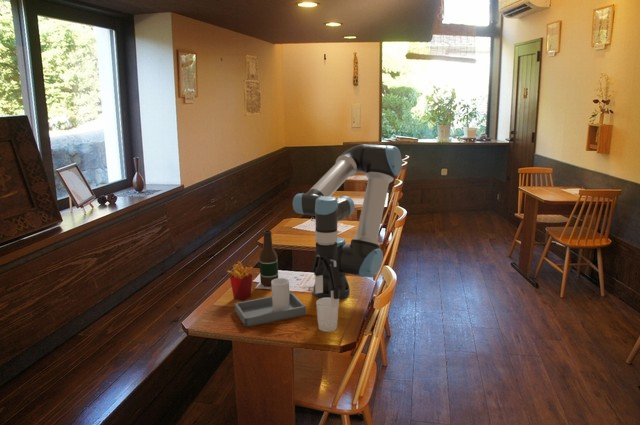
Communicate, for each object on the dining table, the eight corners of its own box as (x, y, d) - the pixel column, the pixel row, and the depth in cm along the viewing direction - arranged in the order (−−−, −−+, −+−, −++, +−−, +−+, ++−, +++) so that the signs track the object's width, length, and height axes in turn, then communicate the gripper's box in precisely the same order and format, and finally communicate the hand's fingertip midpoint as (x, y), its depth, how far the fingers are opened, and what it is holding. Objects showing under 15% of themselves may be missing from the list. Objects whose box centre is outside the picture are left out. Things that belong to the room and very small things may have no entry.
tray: (292, 300, 211) (292, 292, 210) (306, 315, 198) (305, 306, 197) (235, 311, 202) (234, 303, 201) (245, 327, 189) (245, 318, 188)
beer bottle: (260, 281, 231) (257, 229, 225) (277, 279, 232) (275, 227, 226) (261, 287, 224) (258, 234, 218) (279, 286, 225) (277, 233, 219)
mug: (285, 315, 196) (284, 285, 193) (269, 312, 199) (268, 283, 196) (296, 304, 205) (295, 276, 202) (281, 302, 208) (280, 274, 205)
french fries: (254, 296, 215) (252, 262, 211) (240, 304, 208) (238, 268, 204) (237, 292, 220) (235, 258, 216) (224, 299, 213) (221, 264, 209)
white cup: (316, 323, 191) (315, 297, 189) (337, 322, 192) (337, 296, 189) (317, 333, 184) (317, 307, 181) (339, 332, 184) (339, 306, 182)
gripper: (352, 250, 170) (352, 311, 175) (321, 231, 192) (322, 285, 197) (331, 253, 167) (332, 315, 172) (302, 234, 189) (303, 288, 194)
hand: (326, 299), depth 185 cm, fingers open, 13 cm apart
